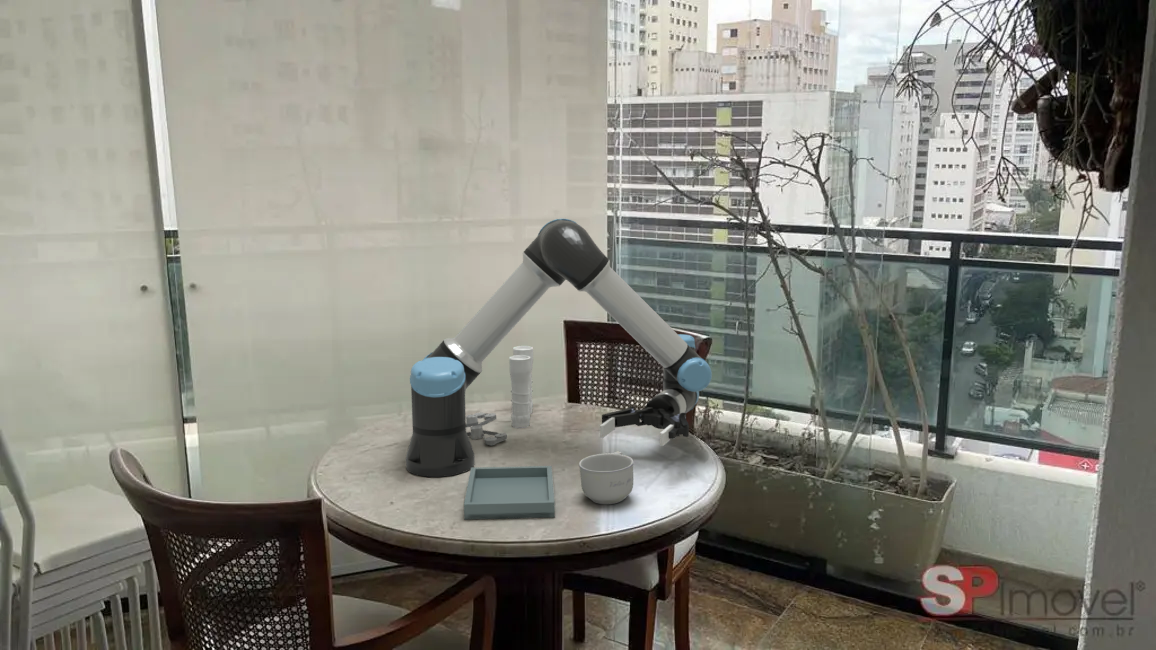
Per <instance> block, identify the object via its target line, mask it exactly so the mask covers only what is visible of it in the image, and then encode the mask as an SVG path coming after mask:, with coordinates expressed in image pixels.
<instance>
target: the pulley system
mask: <svg viewBox="0 0 1156 650" xmlns="http://www.w3.org/2000/svg"><path fill="white" fill-rule="evenodd" d="M479 419H485V420H484V421H482V422H480V423H479V421H478V420H479ZM494 420H497V413H494V412H491V413H486V412H475V413H474V414H467V415H466V428H470V429H469V430H470V431H468V432H467V431H466V432H467V435H468V437H469V436H470V438H471V440H481V439H483V440H484V445H486V446H489V447H494V446H495V445H497V444H498V443H501V442H504V441H506V440H508V434H507V433H506V432H498V431H492V430H486V429H483V426H485V425H487V424H488V423H490V422H493V421H494ZM471 426H472V427H471ZM485 435H489V436H488V437H486V436H485Z"/></svg>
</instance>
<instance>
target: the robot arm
mask: <svg viewBox="0 0 1156 650" xmlns="http://www.w3.org/2000/svg"><path fill="white" fill-rule="evenodd" d="M610 261H611V260H610V259H609V258H608V257H607V256H606V255H605V254H604V253H603V252H602V250H601V249H600V248H599V247H598V245H597V244H596V243H595V241H594V240H593V238H592V237H591V236H590V234H589V232H587V230H586V229H585V228H584V227H582V226H581V225H580V224H579V223H578V222H576V221H574V220H572V219H568V218H559V219H558V218H556V219H553V220H551V221H549V222H547V223H546V224H544V225H543V226H542V227H541V229H540V230H539V232H538V234H537V236H536V237H535V238H534V239H533V241H532V242H531V243H530V244H529V245H528V246H527V247H526V248H525V249H524V251H523V252H522V262H521V264H520V265H519V266H518V267H517V268H516V269H515V270H514V271H513V273H512V274H511V275H510V276H509V277H508V278H507V279H506V280H505V282H503V284H502V285H501V286H500V287H499V288H498V289H497V290H496V291H495V292H494V294H492V296H491V297H490V298H489V299H488V300H487V301H486V302H485V303H484V304H483V306H482V307H481V308H480V309H479V310H478V311H477V313H475V314H474V316H473V317H472V318H471V319H470V320H469V321H468V322H467V323H466V324H465V326H464V327H463V328H462V329H461V330H460V331H459V333H457V334H456V335H455V337H447V338H444V339H443V340H442V341H441V342H440V344H439V345H437V347H436V348H435V349H434V350H433V351H432V352H430V353H429V354H427V355H425V357H424V358H423V359H422V360H419V361H416V362H415V363H414V364H413V365H412V367H411V370H410V375H409V384H410V392H411V420H412V422H411V423H412V435H411V437H410V438H411V439H410V441H409V444H408V445H409V446H408V448H407V452H406V455H405V468H406V470H407V472H409V473H411V474H413V475H417V476H421V477H429V478H431V477H433V478H434V477H435V478H436V477H437V478H438V477H441V478H442V477H449V476H451V477H452V476H455V475H458V474H459V475H460V474H463V473H465V472H467V471H469V470H471V468H472V467H474V466H475V464H476V463H475V461H476V460H475V451H474V449H473V446H472V444H471V441H470V438H469V436H468V435H467V427H466V416H467V415H466V390H467V389H468V388H469V386H471V384H472V383H473V382H474V381H475V380H476V379H477V378H478V377H479V375H480V374H481V373H482V371H483V366H482V365H483V362H484V361H485V359H486V358H487V357H488V356H489V355H490V354H491V353H492V351H493V350H494V349H495V348H496V347H497V346H498V345H499V344H500V343H501V342H502V340H503V339H504V338H505V337H506V336H507V335H508V334H509V333H510V332H511V331H512V330H513V329H514V327H515V326H516V325H517V324H518V323H519V322H520V321H521V320H522V319H523V318H524V316H526V314H527V313H528V312H529V311H530V310H531V309H532V308H533V307H534V306H535V304H537V302H538V301H539V300H540V299H541V298H542V297H543V295H545V293H546V292H548V290H549V289H550V288H553V287H560V286H561V285H562V284H563V283H564V282H565V281H566V282H569V284H571V285H572V286H573V287H574V288H575V289H576V290H577V291H578V292H586V293H587V295H589V296H590V297H591V299H593V300H594V301H595V302H596V303H597V304H598V305H599V306H600V307H601V308H602V309H603V310H604V311H605V312H607V314H608V315H610V317H611V318H612V319H614V321H616V322H617V324H619V326H621V327H622V328H623V329H624V330H625V332H627V333H628V334H629V335H630V336H631V337H632V338H633V339H634V340H635V341H636V342H637V343H638V344H639V345H640V346H641V347H642V348H643V349H644V350H645V351H646V352H647V353H648V354H649V355H650V356H651V357H653V359H654V360H655V361H656V362H658V363H659V365H661V366H662V368H663V382H662V383H663V387H662V389H663V390H662V391H661V392H659V393H658V394H656V395H655V396H653V398H651V399H649V400H648V401H647V403H646V404H645V406H644V408H641V409H635V406H629V407H627V408H625V409H619V410H616V411H612V412H608V413H604V414H601V424H600V425H599V438H601V439H603V438H605V437H607V436H608V435H610V434H611V433H612V432H613V431H615V430H616V428H621V427H629V426H633V425H635V426H637V427H641V426H652V427H653V428H655V429H659V430H662V431H660V432H659V447H664V446H665V445H666V444H668V442H670V440H674V439H676V438H679V437H680V435H682V436H683V437H684V438H688V437H689V436H690V425H689V422H688V420H687V413H688V412H690V411H692V410H693V409H694V407H695V406H696V404H697V403H698V401H699V399H700V392H701V391H703V390H704V389H706V388H707V387H708V386H709V385H710V383H711V381H712V379H713V377H712V376H713V373H712V369H711V367H710V365H709V363H708V362H707V361H706V360H705V359H704V358H702V357H701V356H700V355H699V354H698V353H697V352H696V349H697V348H696V345H695V343H696V342H695V337H693V336H692V335H689V334H681V333H680V334H678V333H677V332H676V331H675V330H674V329H673V327H671V326H670V325H669V324H668V323H667V322H666V320H664V319H663V318H662V316H660V315H659V314H658V313H657V312H656V311H655V310H654V308H652V307H651V306H650V305H649V304H648V303H647V302H646V301H645V300H644V299H642V297H641V296H640V295H639V294H638V293H637V292H636V291H635V290H634V289H633V288H632V287H631V286H630V285H629V284H628V283H627V282H626V280H624V279H623V278H622V277H621V276H620V275H619V274H618V273H617V272H616V271H615V270H614V269H613V268H612V267H611V262H610Z"/></svg>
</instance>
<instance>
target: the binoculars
mask: <svg viewBox="0 0 1156 650" xmlns="http://www.w3.org/2000/svg"><path fill="white" fill-rule="evenodd" d="M512 353H513V355H512V356H509V357H508V358H509V360H508V361H509V362H508V363H509V375H510V376H509V377H510V381H511V383H510V384H511V390H510V393H511V400H510V402H511V414H510V415H511V416H510V420H511V426H512V428H516V429H524V428H529V427H530V426H529V425H530V423H531V422H530V421H531V414H532V413H533V407H534V402H533V391H534V390H533V379H532V378H533V374H532V373H533V372H532V371H533V363H534V347H533V346H530V345H518V346H514V347H513V348H512ZM528 426H529V427H528Z"/></svg>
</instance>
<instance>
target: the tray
mask: <svg viewBox="0 0 1156 650" xmlns="http://www.w3.org/2000/svg"><path fill="white" fill-rule="evenodd" d="M552 468H553V467H552V465H530V466H527V465H526V466H525V465H524V466H486V467H485V466H482V467H481V466H480V467H478V466H477V467H474V466H473V467H472V468H471V469H470V471H469V477H468V481H467V486H466V492H465V498H464V502H463V503H464V504H463V514H464V518H463V519H464V520H467V521H468V520H499V519H500V520H501V519H502V520H505V519H506V518H509V519H534V518H535V519H536V518H537V519H539V518H540V519H541V518H542V519H543V518H547V519H548V518H549V519H550V518H555V516H556V515H555V513H556V511H555V510H556V509H555V505H556V503H555V490H554V479H553V469H552Z"/></svg>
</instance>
